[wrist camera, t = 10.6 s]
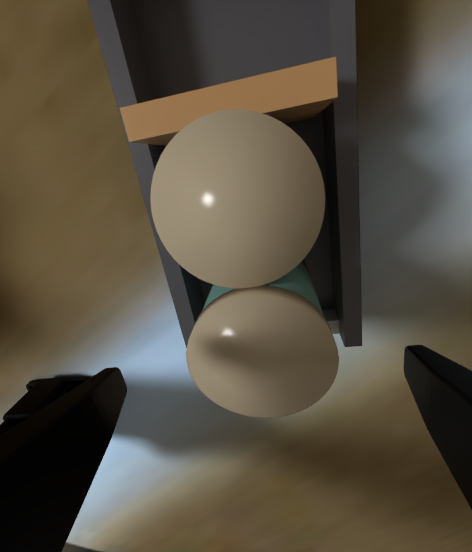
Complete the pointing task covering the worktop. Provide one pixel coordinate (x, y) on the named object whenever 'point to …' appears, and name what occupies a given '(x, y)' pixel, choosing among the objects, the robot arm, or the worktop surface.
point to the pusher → (237, 101)
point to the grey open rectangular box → (238, 65)
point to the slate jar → (237, 198)
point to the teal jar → (264, 347)
